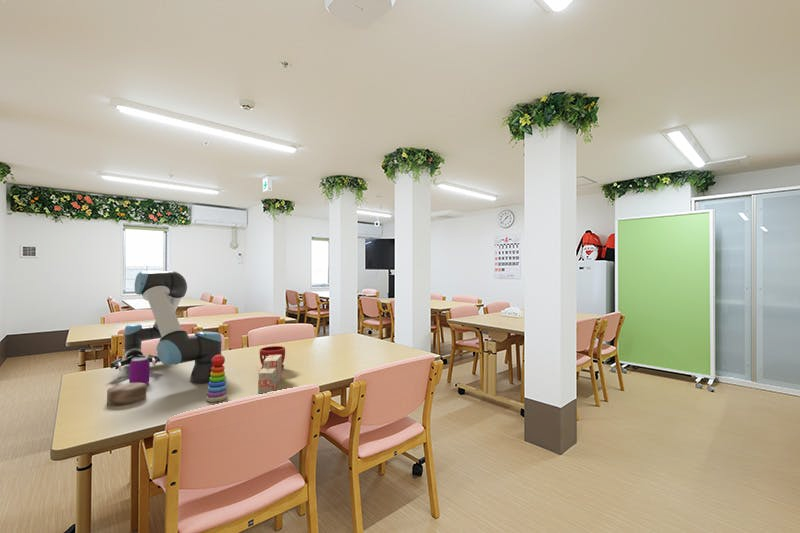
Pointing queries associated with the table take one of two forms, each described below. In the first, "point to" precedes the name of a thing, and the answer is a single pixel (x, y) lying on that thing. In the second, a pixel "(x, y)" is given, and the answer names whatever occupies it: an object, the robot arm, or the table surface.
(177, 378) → the table surface
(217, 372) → the stacking toy
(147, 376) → the beverage can
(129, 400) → the walnut pedestal
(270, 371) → the stack of blocks
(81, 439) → the table surface
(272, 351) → the plant pot
